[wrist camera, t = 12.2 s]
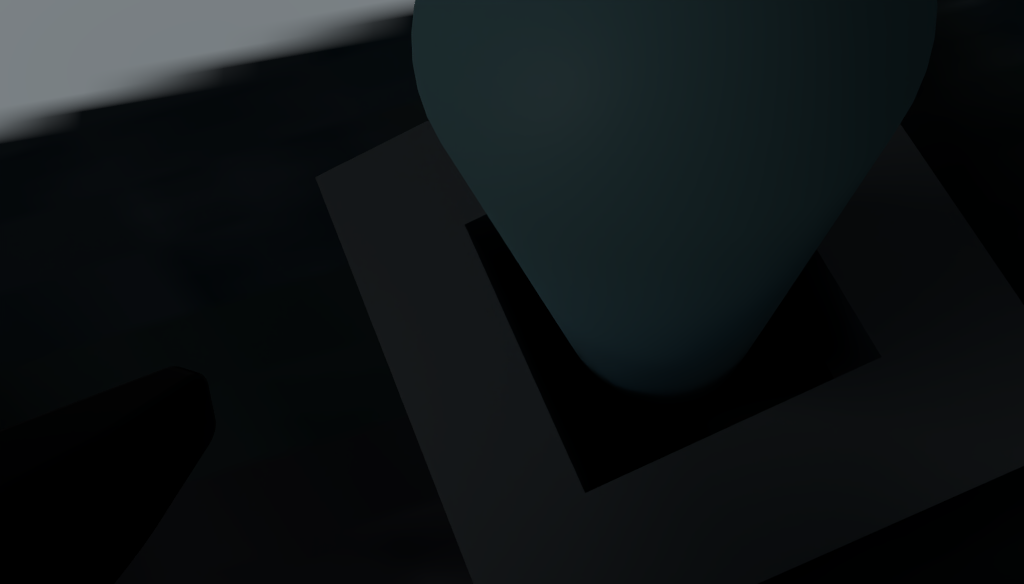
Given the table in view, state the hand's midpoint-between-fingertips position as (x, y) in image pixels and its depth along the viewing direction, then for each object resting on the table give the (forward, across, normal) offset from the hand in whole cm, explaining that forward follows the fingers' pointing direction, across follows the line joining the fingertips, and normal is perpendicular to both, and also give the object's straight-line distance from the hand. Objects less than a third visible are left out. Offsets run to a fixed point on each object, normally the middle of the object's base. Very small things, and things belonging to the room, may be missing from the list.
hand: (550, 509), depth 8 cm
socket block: (+11, 0, +5) cm, 12 cm away
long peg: (+11, 0, +5) cm, 12 cm away
